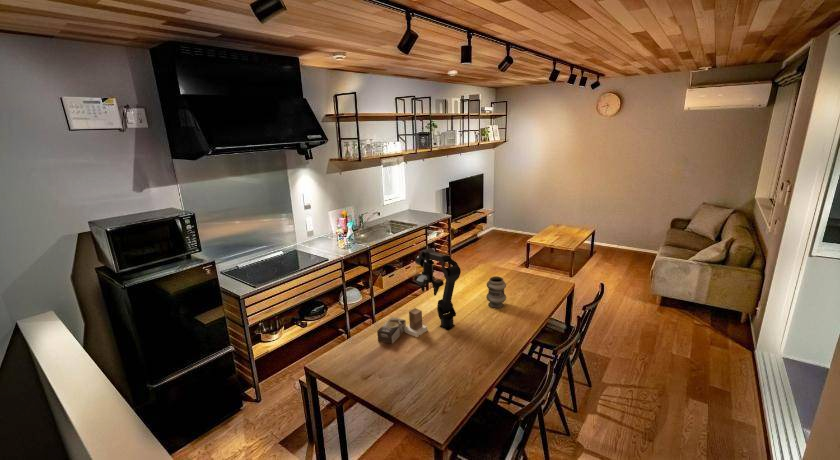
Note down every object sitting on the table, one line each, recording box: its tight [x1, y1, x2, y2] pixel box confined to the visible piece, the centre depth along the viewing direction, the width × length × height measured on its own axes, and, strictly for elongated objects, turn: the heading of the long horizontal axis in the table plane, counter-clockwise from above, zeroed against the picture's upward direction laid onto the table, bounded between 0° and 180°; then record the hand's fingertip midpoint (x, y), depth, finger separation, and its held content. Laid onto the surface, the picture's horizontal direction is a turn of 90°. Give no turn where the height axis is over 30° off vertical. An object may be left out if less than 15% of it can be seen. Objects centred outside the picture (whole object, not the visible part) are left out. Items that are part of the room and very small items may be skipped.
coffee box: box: [376, 316, 407, 345], centre depth 212 cm, size 9×6×16 cm
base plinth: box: [404, 324, 428, 338], centre depth 215 cm, size 9×9×2 cm
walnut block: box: [408, 308, 423, 331], centre depth 213 cm, size 5×5×10 cm
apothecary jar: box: [486, 275, 507, 310], centre depth 237 cm, size 12×12×18 cm
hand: (429, 293), depth 230 cm, fingers open, 9 cm apart
